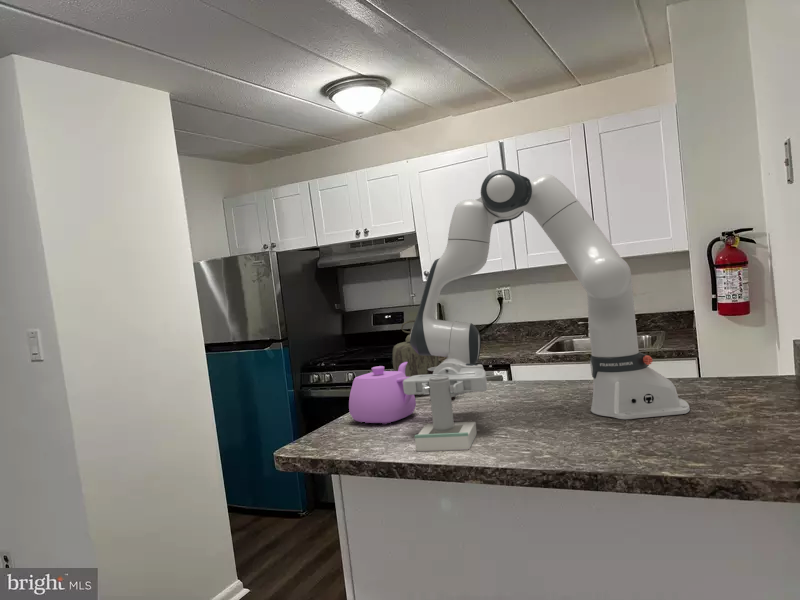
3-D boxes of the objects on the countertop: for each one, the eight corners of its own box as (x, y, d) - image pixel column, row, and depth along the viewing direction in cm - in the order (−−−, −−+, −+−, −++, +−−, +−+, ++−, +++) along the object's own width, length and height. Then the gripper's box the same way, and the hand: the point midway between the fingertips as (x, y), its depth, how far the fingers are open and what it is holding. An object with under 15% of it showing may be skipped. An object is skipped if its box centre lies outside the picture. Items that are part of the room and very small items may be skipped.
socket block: (476, 434, 138) (475, 419, 138) (469, 449, 127) (467, 433, 127) (427, 436, 142) (426, 421, 142) (416, 451, 130) (414, 435, 130)
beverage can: (453, 431, 132) (448, 378, 131) (432, 432, 132) (427, 380, 132) (454, 425, 136) (449, 375, 136) (434, 426, 137) (429, 376, 137)
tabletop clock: (438, 389, 199) (429, 317, 198) (443, 394, 190) (434, 318, 189) (396, 395, 197) (387, 322, 196) (399, 400, 188) (391, 323, 187)
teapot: (402, 429, 151) (395, 372, 150) (341, 425, 163) (335, 372, 163) (447, 408, 169) (441, 357, 169) (389, 406, 182) (384, 358, 181)
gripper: (409, 368, 149) (394, 379, 136) (488, 363, 144) (481, 374, 130) (411, 392, 149) (397, 405, 136) (491, 389, 144) (484, 402, 131)
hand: (439, 390), depth 133 cm, fingers closed on beverage can, 5 cm apart
